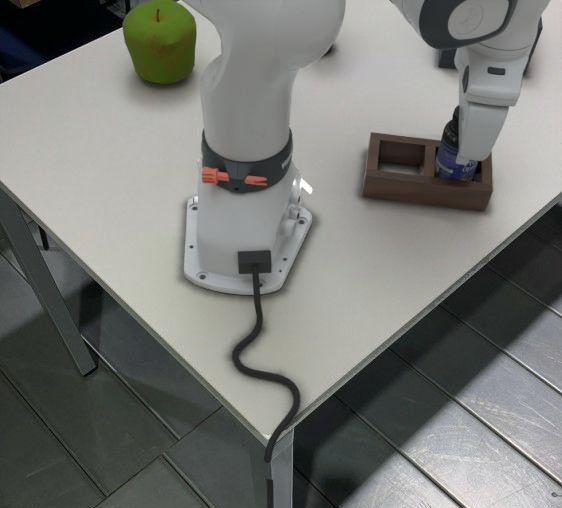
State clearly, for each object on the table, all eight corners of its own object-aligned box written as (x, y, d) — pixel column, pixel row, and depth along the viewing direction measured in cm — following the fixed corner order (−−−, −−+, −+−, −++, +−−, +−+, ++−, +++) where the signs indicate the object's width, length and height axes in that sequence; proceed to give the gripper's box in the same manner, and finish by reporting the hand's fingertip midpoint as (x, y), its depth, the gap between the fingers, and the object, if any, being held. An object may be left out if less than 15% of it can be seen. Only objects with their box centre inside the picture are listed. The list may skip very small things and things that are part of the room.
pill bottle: (462, 195, 93) (483, 131, 84) (425, 180, 95) (441, 116, 86) (478, 172, 96) (499, 108, 87) (441, 158, 98) (459, 94, 88)
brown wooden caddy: (484, 211, 94) (493, 191, 91) (361, 196, 95) (365, 175, 92) (483, 167, 99) (491, 146, 96) (367, 153, 101) (370, 131, 97)
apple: (143, 49, 114) (132, -16, 105) (208, 57, 113) (202, -7, 104) (122, 89, 108) (108, 24, 98) (190, 99, 107) (182, 34, 97)
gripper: (466, 8, 85) (440, 99, 96) (467, 96, 74) (438, 188, 85) (513, 13, 84) (481, 105, 96) (521, 103, 73) (484, 194, 85)
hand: (461, 145), depth 91 cm, fingers closed on pill bottle, 6 cm apart
